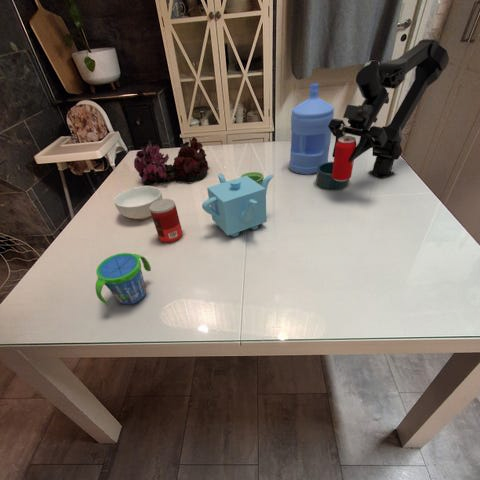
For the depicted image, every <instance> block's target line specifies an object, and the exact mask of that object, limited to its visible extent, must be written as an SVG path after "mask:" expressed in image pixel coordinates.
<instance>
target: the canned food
mask: <svg viewBox="0 0 480 480" xmlns="http://www.w3.org/2000/svg"><path fill="white" fill-rule="evenodd" d="M149 208H150V212H151V215H152V216H151V218H152V221H153V225H154V228H155V230H156V233H157V236H158V239H159V240H160V242H162V243H166V244H170V243H175V242H177V241H179V240H180V239H181V238H182V236H183V229H182V225H181V221H180V217H179V213H178V209H177V206H176V202H175V201H174V199H171V198H162V200H158V201H155V202H154V203H152V204H151V205H150V207H149Z"/></svg>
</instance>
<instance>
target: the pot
mask: <svg viewBox="0 0 480 480" xmlns="http://www.w3.org/2000/svg"><path fill="white" fill-rule="evenodd" d="M333 163H334V161H328V162H326V163H323V164H321V165H319V166H318V167H317V173H316V180H315V185H316V187H318V188H319V189H322V190H325V191H339V190H342V189H344V188H346V187H348V185H349V184H350V178H349V179H348V180H346V181H336V180H334V179H333V178H332V171H333Z"/></svg>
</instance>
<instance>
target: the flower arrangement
mask: <svg viewBox="0 0 480 480" xmlns="http://www.w3.org/2000/svg"><path fill="white" fill-rule="evenodd" d="M179 147H180V148H179V150H178V152H177V156H175V157H174V158H173V160H174V161H173V164H171V163H170V164H167V162H168V161H169V158H170V157H169V154H168V153H166V154H164V153H162V152H160V150H161V148H160V146H159V145H158V144H154V145H153V144H152V142H151V140H148V144H147V145H146V147H141V148H140V149H141V150H138V151H136V154H135V158H134V160H133V167H134V169H135V170H136V172H138V177H140V178H141V182H142V184H143V186H153V185H155V184H160V185H161V184H167V183H173V182H176V183H177V182H178V183H185V184H192V183H196V182H199V181H202V180H204V179H205V178H206V177H208V170H209V163H208V160H207V159H206V158H207V153H206V150H205V149H203V143H201V142H200V141H199V142H198V139H197V137H195V136H192V137H191V139H189V141H185V142H184V143H180V144H179Z"/></svg>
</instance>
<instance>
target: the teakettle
mask: <svg viewBox="0 0 480 480" xmlns="http://www.w3.org/2000/svg"><path fill="white" fill-rule="evenodd" d="M217 177H218V179H219V183H218V184H214V185H212V186H209V187H206V190H207V195H208V199H206V200H204V201H203V202H202V204H201V208H202V209H203V211H204V212H206V213H207V214H209V215H211V220H212V221H213V222H214V223H215V224H216V225H217V227H219V228H220V229H221V230H222V231H223V233H224V234H225V235H226V236H230V237H232V238H233V237H238V236H240V232H242V231H245V230H248V229H250V230H258V229H259V225H261V224H264V223H267V193H268V192H267V191H268V185H269V183H270V181H271V180H272V179H273V178H274V177H275V174H269V175H266V176H264V179H263V182H262V184H261V185H259V184H258V183H257V182H255V181H254V180H252V179H251V178H249V177H248V176H244V177H241V176H240V177H238V178H234V179H230V180H228V181H227V180H226V177H225V175H223V174H222V173H217Z"/></svg>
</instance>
